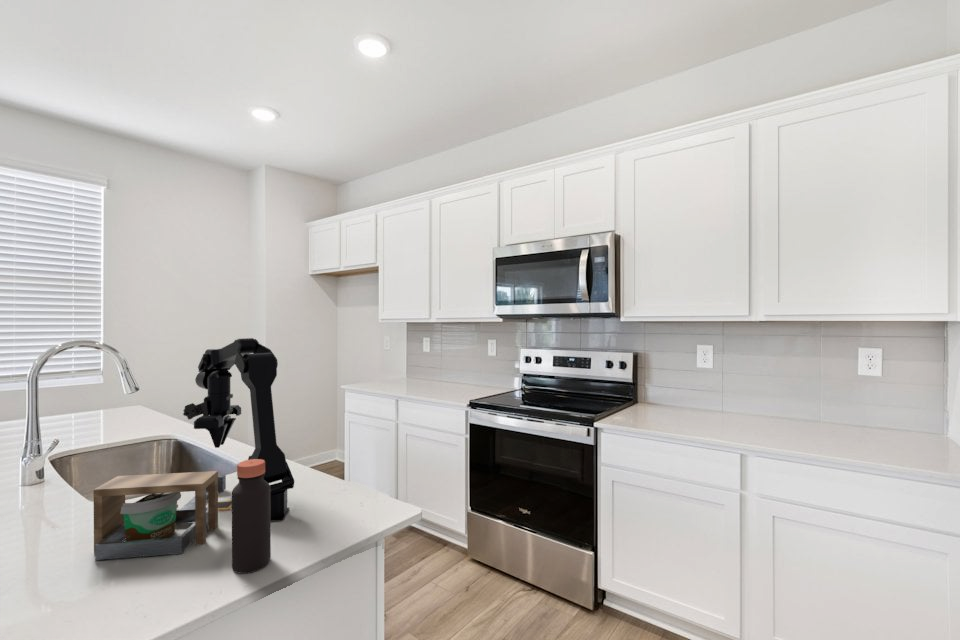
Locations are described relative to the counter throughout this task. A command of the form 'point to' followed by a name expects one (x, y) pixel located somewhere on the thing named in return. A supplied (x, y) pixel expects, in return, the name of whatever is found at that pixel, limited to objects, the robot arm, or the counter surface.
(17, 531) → the counter surface
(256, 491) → the bottle
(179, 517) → the long grey tray
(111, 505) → the tunnel
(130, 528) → the food container
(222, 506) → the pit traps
